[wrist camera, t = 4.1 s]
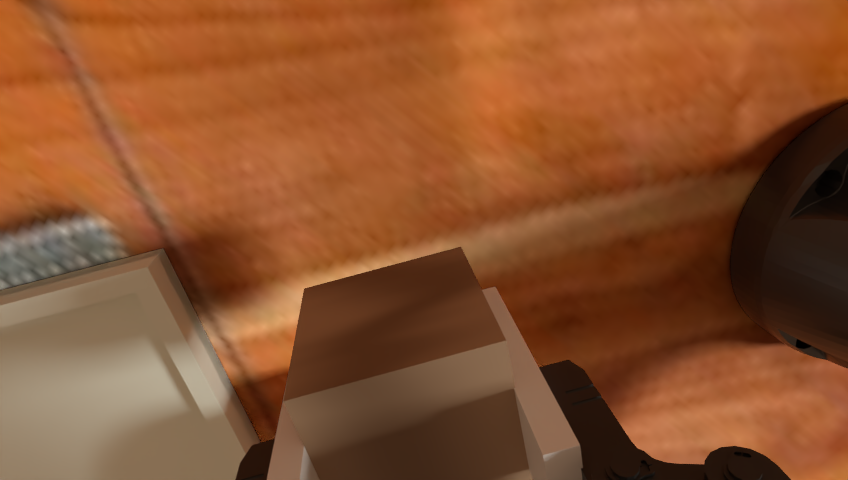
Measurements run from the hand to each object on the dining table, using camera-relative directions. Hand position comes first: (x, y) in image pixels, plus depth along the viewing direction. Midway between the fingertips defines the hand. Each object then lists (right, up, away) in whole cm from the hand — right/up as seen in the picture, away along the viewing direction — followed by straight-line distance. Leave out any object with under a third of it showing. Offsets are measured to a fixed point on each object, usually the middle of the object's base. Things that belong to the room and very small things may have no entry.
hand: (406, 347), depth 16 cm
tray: (-19, -7, +11) cm, 23 cm away
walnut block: (0, 0, 0) cm, 1 cm away
